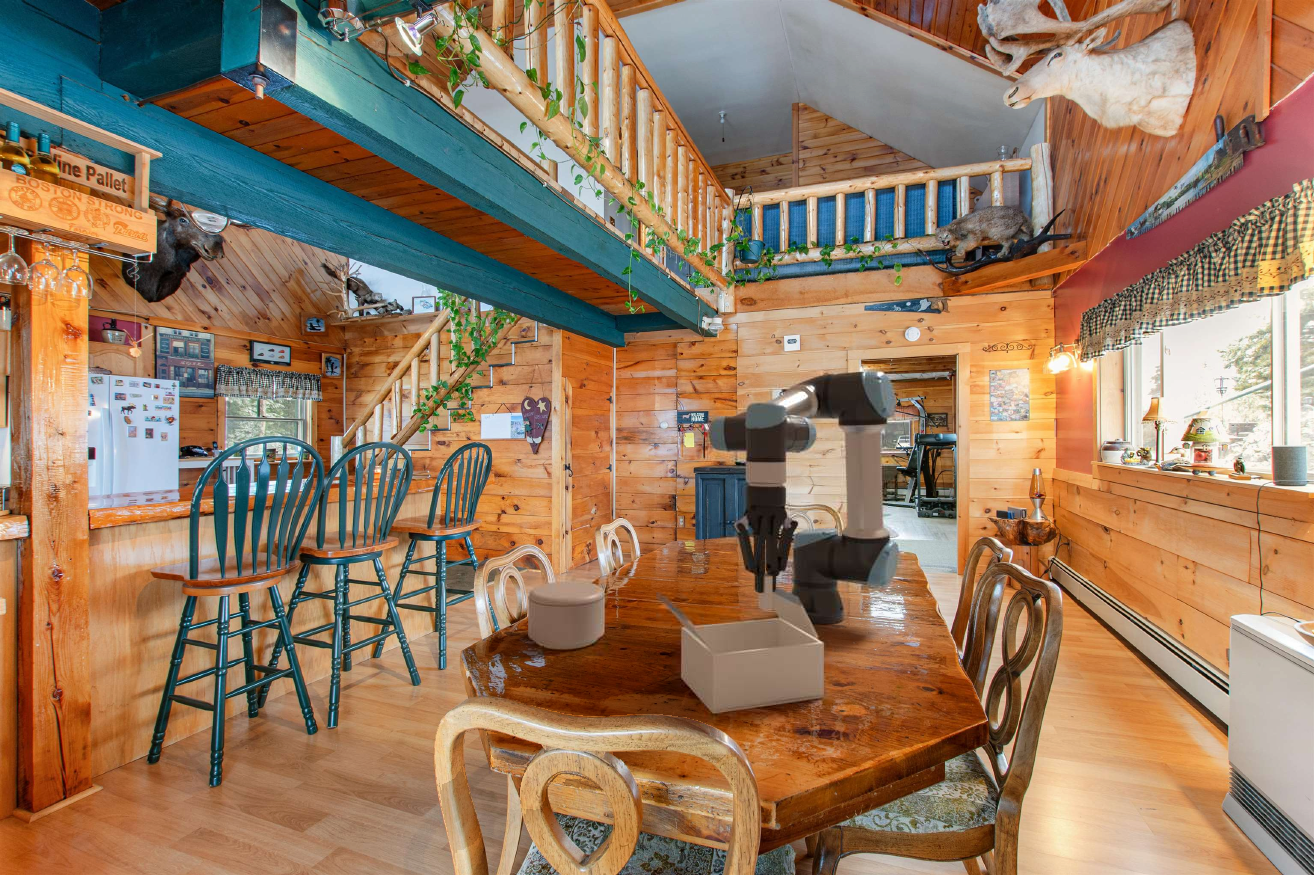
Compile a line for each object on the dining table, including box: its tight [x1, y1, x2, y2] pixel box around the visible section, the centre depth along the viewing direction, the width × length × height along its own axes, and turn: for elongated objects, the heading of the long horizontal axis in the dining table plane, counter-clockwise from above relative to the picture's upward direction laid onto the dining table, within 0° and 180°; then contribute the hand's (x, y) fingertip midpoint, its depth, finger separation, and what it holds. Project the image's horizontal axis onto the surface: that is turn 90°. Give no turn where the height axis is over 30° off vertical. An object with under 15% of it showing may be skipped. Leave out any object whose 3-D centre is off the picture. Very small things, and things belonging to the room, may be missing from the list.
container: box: [527, 580, 606, 650], centre depth 140 cm, size 18×18×12 cm
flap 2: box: [772, 586, 819, 639], centre depth 115 cm, size 9×14×1 cm
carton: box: [680, 617, 825, 714], centre depth 113 cm, size 22×16×10 cm
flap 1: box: [656, 593, 714, 650], centre depth 109 cm, size 9×14×1 cm
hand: (765, 609), depth 112 cm, fingers closed
